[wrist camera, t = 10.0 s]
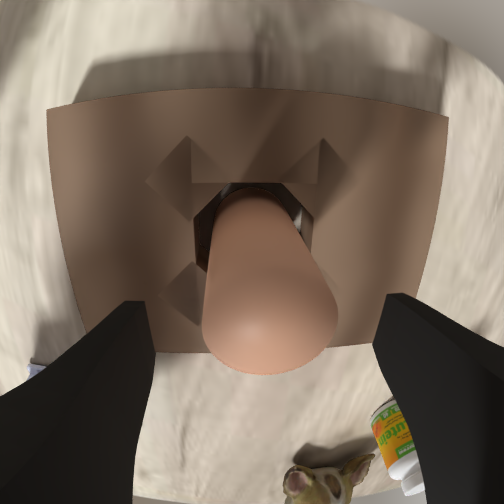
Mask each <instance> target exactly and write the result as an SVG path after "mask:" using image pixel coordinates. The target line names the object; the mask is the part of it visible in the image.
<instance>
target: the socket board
mask: <svg viewBox="0 0 504 504" xmlns="http://www.w3.org/2000/svg"><path fill="white" fill-rule="evenodd" d="M448 121H449V117H446V116H443V115H439V114H435V113H431V112H428V111H424V110H419V109H415V108H411V107H406V106H402V105H397V104H392V103H387V102H382V101H376V100H371V99H365V98H358V97H352V96H345V95H337V94H329V93H320V92H310V91H299V90H285V89H265V88H199V89H179V90H166V91H154V92H145V93H136V94H128V95H120V96H113V97H107V98H101V99H95V100H89V101H84V102H79V103H74V104H69V105H64V106H60V107H56V108H51V109H47V137H48V151H49V163H50V173H51V181H52V189H53V196H54V203H55V209H56V215H57V221H58V227H59V232H60V237H61V242H62V246H63V251H64V255H65V260H66V264H67V268H68V272H69V276H70V280H71V284H72V287H73V291H74V294H75V298H76V301H77V305H78V308H79V311H80V314H81V318H82V321H83V324H84V327H85V330H86V333H88V332H90V331H91V330H92V329H93V328H94V327H95V326H96V325H97V324H99V323H100V322H101V321H102V320H103V319H104V318H105V317H106V316H107V315H109V314H110V313H111V312H112V311H113V310H114V309H115V308H116V307H118V306H119V305H120V304H121V303H123V302H124V301H145V305H146V311H147V316H148V321H149V326H150V330H151V335H152V340H153V344H154V349H155V352H169V353H211V352H210V350H209V349H208V347H207V345H206V344H205V341H204V338H203V334H202V314H203V305H204V296H205V288H206V279H207V271H208V263H209V255H210V252H209V251H208V250H206V249H205V248H204V247H203V246H202V245H201V244H200V235H199V212H200V211H201V210H202V209H203V208H204V207H205V206H206V205H207V204H208V203H209V202H210V201H211V200H212V199H213V198H214V197H215V196H216V195H217V194H218V193H219V192H220V191H221V190H222V189H223V188H224V187H225V186H226V185H227V184H228V183H234V182H255V183H282V184H283V185H284V186H285V187H286V188H287V189H288V190H289V191H290V192H291V193H292V194H293V195H294V197H295V198H296V199H297V200H298V201H299V202H300V203H301V204H302V217H301V230H300V236H301V237H302V239H303V241H304V243H305V245H306V246H307V248H308V250H309V252H310V254H311V255H312V257H313V259H314V261H315V263H316V264H317V266H318V268H319V270H320V272H321V274H322V275H323V277H324V279H325V281H326V283H327V285H328V286H329V288H330V290H331V292H332V294H333V296H334V298H335V301H336V303H337V308H338V323H337V327H336V331H335V333H334V335H333V337H332V339H331V341H330V342H329V344H328V345H327V346H326V348H329V347H339V346H349V345H358V344H366V343H373V340H374V337H375V334H376V330H377V327H378V324H379V320H380V317H381V313H382V309H383V306H384V302H385V298H386V295H387V294H391V293H405V294H407V295H409V296H411V297H413V298H415V299H416V295H417V292H418V289H419V285H420V282H421V278H422V275H423V271H424V267H425V263H426V259H427V255H428V251H429V247H430V243H431V238H432V234H433V229H434V225H435V220H436V215H437V209H438V204H439V198H440V192H441V186H442V179H443V172H444V164H445V156H446V146H447V135H448Z"/></svg>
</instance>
